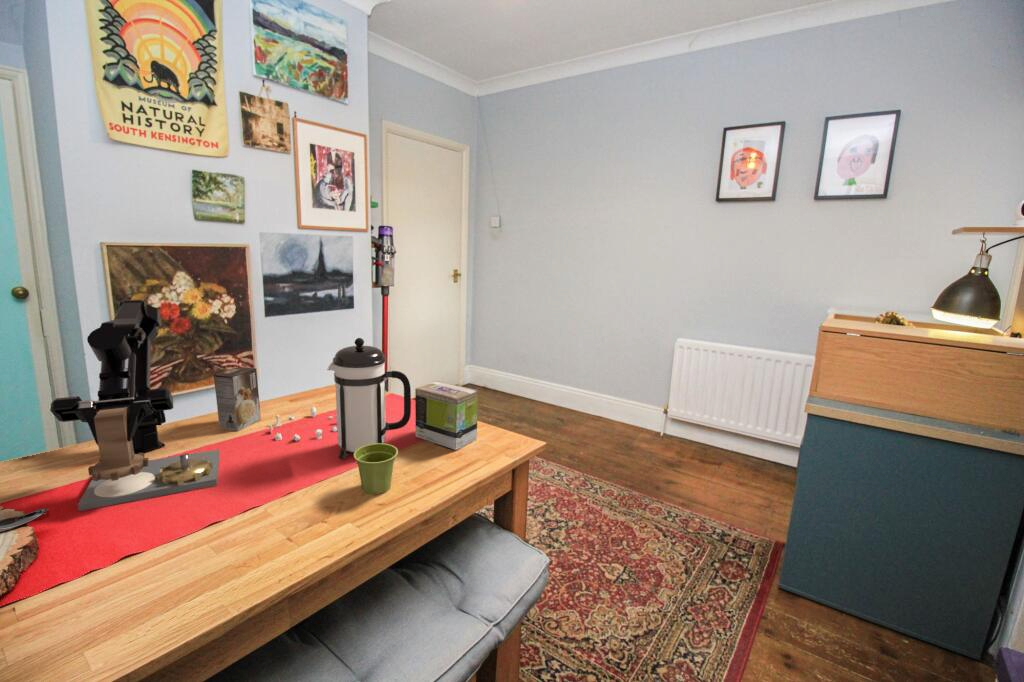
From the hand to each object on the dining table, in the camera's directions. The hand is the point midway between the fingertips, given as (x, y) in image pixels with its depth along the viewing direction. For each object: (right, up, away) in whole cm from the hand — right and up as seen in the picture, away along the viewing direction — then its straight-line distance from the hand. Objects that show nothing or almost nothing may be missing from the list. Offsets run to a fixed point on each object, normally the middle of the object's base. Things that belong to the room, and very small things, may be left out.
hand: (113, 442), depth 93 cm
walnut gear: (-1, -6, +3) cm, 7 cm away
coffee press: (+41, -8, +31) cm, 52 cm away
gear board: (0, -11, +11) cm, 15 cm away
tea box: (+61, -7, +39) cm, 73 cm away
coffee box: (+1, -4, +42) cm, 43 cm away
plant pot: (+49, -13, +12) cm, 52 cm away
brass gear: (+7, -9, +11) cm, 16 cm away
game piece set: (+20, -5, +42) cm, 47 cm away
